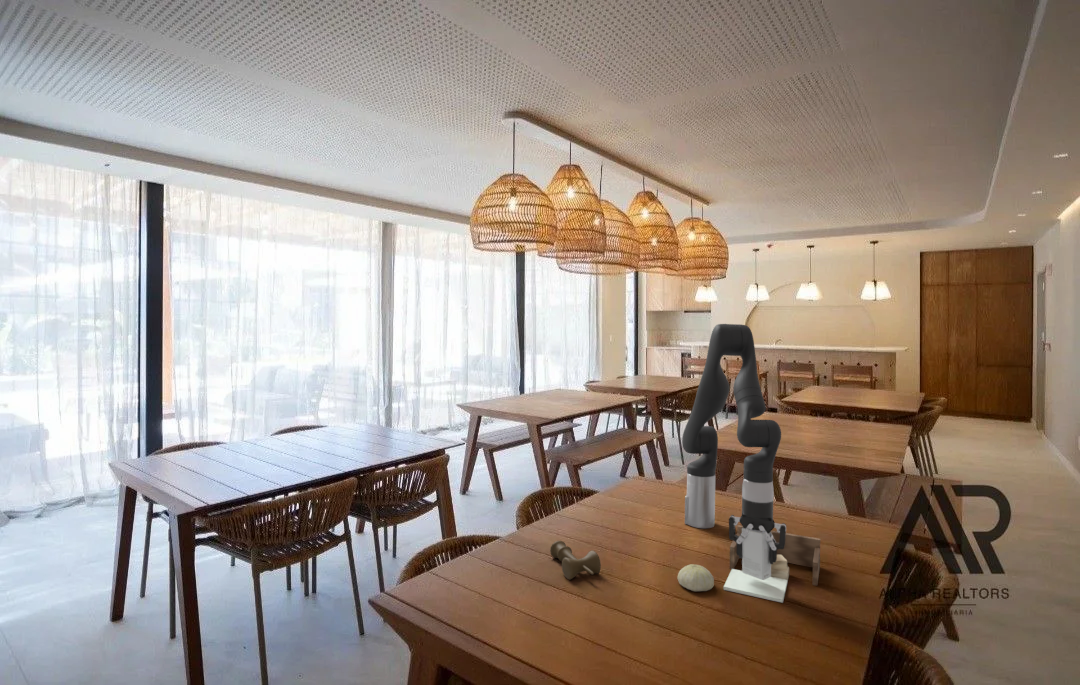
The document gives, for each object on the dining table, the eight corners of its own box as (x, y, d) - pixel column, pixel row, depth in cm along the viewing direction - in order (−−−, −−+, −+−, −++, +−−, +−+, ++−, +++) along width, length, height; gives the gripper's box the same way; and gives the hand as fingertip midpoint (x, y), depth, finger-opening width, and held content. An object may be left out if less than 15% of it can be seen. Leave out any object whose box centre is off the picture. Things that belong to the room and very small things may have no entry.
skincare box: (771, 576, 146) (772, 529, 145) (762, 581, 143) (763, 534, 142) (749, 568, 151) (750, 523, 150) (740, 573, 148) (741, 527, 147)
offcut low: (755, 575, 154) (755, 566, 154) (757, 570, 157) (757, 561, 157) (787, 582, 150) (787, 572, 150) (788, 576, 154) (789, 567, 154)
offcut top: (764, 569, 152) (764, 560, 152) (759, 563, 156) (759, 554, 156) (787, 569, 152) (787, 560, 152) (781, 563, 156) (781, 554, 156)
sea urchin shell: (714, 572, 151) (714, 559, 145) (713, 602, 146) (713, 590, 140) (679, 567, 154) (678, 554, 148) (677, 596, 149) (675, 584, 143)
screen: (729, 568, 158) (730, 539, 157) (737, 551, 169) (738, 525, 169) (817, 585, 147) (818, 555, 147) (819, 567, 159) (820, 538, 158)
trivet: (723, 589, 145) (723, 586, 145) (731, 571, 155) (732, 568, 155) (782, 602, 138) (782, 599, 138) (787, 582, 149) (787, 579, 149)
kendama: (571, 555, 167) (609, 581, 149) (542, 562, 163) (577, 589, 145) (571, 535, 167) (608, 558, 149) (541, 541, 163) (576, 566, 145)
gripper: (725, 496, 146) (724, 559, 147) (786, 505, 139) (785, 571, 140) (731, 489, 153) (730, 549, 153) (789, 497, 146) (787, 560, 146)
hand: (756, 560), depth 147 cm, fingers closed on skincare box, 7 cm apart
